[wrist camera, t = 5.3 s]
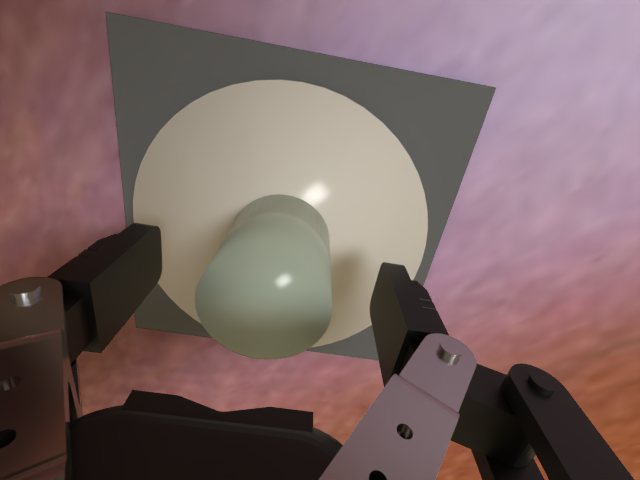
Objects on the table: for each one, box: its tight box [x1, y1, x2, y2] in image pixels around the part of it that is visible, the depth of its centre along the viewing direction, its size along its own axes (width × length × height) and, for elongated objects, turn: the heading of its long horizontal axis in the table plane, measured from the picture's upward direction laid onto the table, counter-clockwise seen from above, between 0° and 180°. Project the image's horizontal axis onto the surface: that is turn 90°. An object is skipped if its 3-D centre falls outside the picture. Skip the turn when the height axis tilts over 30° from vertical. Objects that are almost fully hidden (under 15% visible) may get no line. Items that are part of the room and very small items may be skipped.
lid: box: [133, 79, 428, 359], centre depth 12 cm, size 12×12×6 cm
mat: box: [106, 12, 496, 360], centre depth 15 cm, size 14×14×1 cm
